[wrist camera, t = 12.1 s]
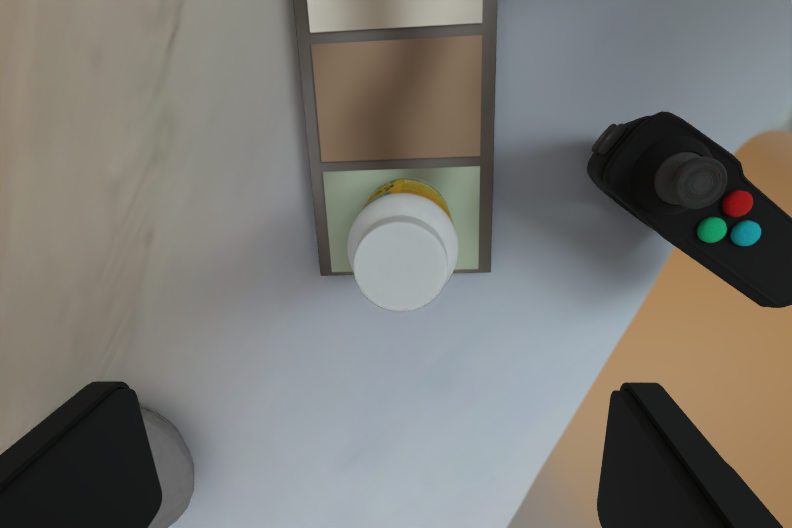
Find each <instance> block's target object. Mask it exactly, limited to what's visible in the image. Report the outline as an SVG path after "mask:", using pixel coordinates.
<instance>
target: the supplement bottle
mask: <svg viewBox="0 0 792 528" xmlns="http://www.w3.org/2000/svg"><path fill="white" fill-rule="evenodd" d="M458 250H459V249H458V238H457V234H456V230H455V227H454V224H453V221H452V218H451V215H450V211H449V209H448V206H447V203H446V201H445V199H444V198H443V196H442V195H441V193H440V192H439V191H438V190H437V189H436V188H435V187H433V186H432V185H430V184H429V183H427V182H425V181H423V180H420V179H416V178H399V179H395V180H392V181H389V182H387V183H385V184H383V185H381V186H380V187H379V188H378V189H377V190H376V191H375V192H374V193H373V194H372V195H371V196H370V198H369V200H368V201H367V203H366V204H365V205H364V207H363V208H362V210H361V211H360V213H359V214H358V216H357V217H356V218H355V220H354V222H353V225H352V227H351V230H350V233H349V237H348V243H347V251H348V258H349V263H350V266H351V268H352V271H353V273H354V277H355V281H356V283H357V285H358V287H359V289H360V290H361V292H362V293H363V294H364V295H365V296H366V298H368V299H369V300H370V301H371V302H372V303H374V304H375V305H377V306H379V307H381V308H384V309H387V310H390V311H402V312H404V311H411V310H415V309H418V308H421V307H423V306H424V305H426V304H428V303H429V302H431V301H432V300H433V299H434V298H435V297H436V296H437V295H438V294H439V292H440V291H441V289H442V287H443V286H444V285H445V284H446V282H447V281H448V280H449V278H450V277H451V275H452V273H453V271H454V269H455V266H456V263H457V259H458Z"/></svg>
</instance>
